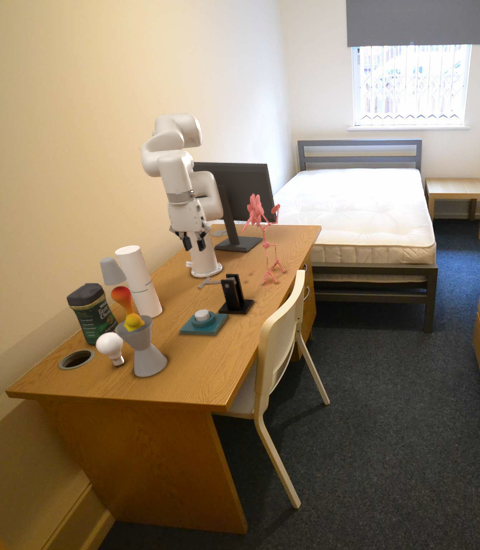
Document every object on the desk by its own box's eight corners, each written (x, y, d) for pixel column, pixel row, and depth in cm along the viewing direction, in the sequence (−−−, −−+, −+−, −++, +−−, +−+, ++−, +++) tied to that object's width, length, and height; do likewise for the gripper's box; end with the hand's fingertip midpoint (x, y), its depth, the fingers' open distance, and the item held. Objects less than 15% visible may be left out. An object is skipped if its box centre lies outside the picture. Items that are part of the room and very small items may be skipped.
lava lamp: (128, 367, 106) (80, 260, 89) (160, 351, 112) (120, 248, 95) (140, 382, 101) (90, 271, 84) (173, 364, 107) (133, 257, 90)
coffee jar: (107, 346, 115) (83, 296, 106) (83, 346, 115) (57, 297, 106) (125, 327, 123) (105, 280, 114) (103, 327, 124) (80, 280, 115)
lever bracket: (218, 313, 129) (210, 282, 123) (228, 301, 136) (221, 271, 130) (245, 314, 128) (238, 283, 122) (254, 302, 135) (247, 272, 129)
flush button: (193, 321, 120) (191, 316, 119) (200, 314, 124) (198, 309, 123) (206, 322, 120) (204, 317, 119) (212, 314, 123) (211, 309, 122)
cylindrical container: (166, 309, 133) (144, 246, 121) (150, 320, 127) (126, 255, 115) (151, 305, 135) (128, 244, 123) (135, 316, 129) (109, 253, 117)
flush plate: (180, 334, 119) (177, 325, 118) (196, 316, 128) (193, 308, 126) (215, 335, 118) (212, 326, 117) (228, 317, 127) (226, 309, 125)
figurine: (293, 263, 162) (282, 185, 145) (271, 293, 140) (255, 206, 123) (260, 261, 164) (245, 184, 147) (234, 291, 142) (213, 205, 125)
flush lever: (198, 291, 126) (196, 285, 125) (208, 281, 132) (206, 275, 131) (231, 289, 124) (229, 283, 123) (239, 279, 130) (237, 273, 129)
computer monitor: (286, 241, 184) (274, 160, 165) (272, 254, 170) (257, 168, 151) (210, 235, 193) (190, 158, 174) (191, 248, 180) (167, 165, 160)
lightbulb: (114, 357, 110) (100, 328, 105) (135, 356, 110) (122, 327, 105) (102, 372, 105) (87, 342, 99) (125, 371, 105) (111, 341, 100)
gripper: (212, 192, 115) (224, 245, 124) (162, 192, 117) (178, 244, 126) (200, 200, 109) (214, 255, 118) (148, 199, 111) (166, 254, 119)
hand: (195, 249), depth 122 cm, fingers open, 4 cm apart
